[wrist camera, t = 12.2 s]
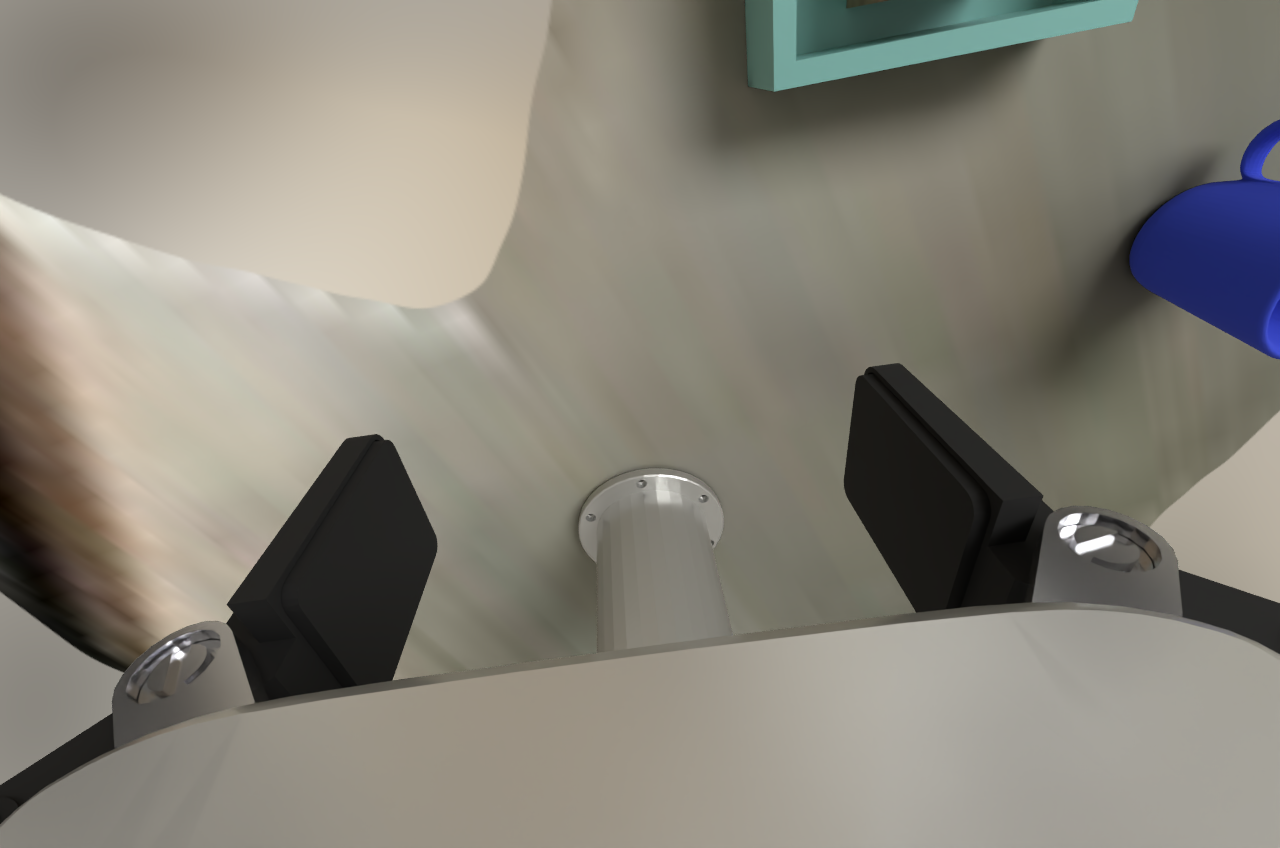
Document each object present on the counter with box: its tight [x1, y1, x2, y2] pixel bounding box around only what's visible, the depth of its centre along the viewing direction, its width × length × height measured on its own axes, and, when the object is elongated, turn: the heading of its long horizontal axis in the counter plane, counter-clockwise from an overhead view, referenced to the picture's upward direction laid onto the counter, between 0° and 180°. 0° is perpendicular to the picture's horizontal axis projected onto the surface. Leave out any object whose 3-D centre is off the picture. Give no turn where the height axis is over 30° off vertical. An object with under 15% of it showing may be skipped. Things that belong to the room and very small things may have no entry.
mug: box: [1130, 120, 1280, 359], centre depth 29 cm, size 8×12×10 cm
